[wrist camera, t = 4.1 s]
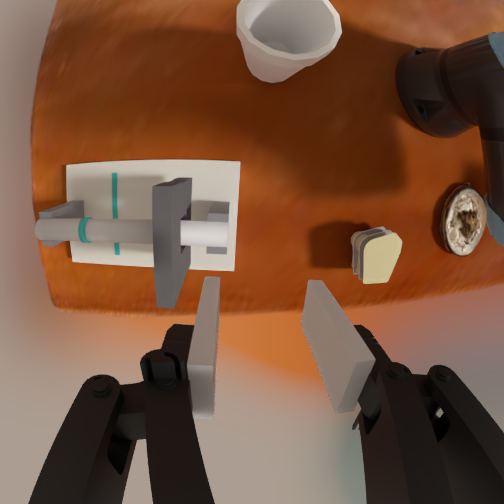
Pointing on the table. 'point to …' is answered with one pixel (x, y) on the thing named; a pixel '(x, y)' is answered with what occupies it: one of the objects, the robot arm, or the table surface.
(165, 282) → the collar
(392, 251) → the beige layered block
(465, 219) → the white shallow bowl
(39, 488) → the robot arm
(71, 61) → the table surface
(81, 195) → the pipe rig
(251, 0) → the foam cup
